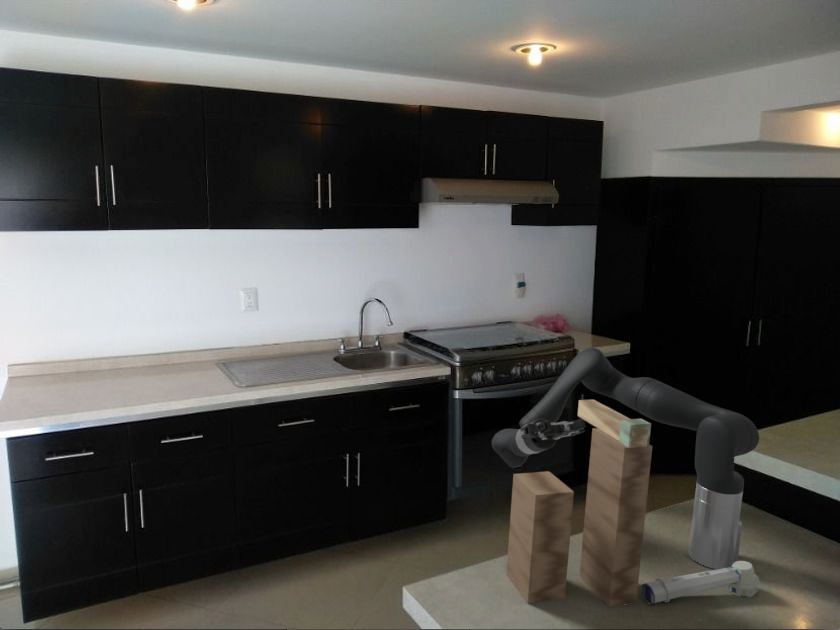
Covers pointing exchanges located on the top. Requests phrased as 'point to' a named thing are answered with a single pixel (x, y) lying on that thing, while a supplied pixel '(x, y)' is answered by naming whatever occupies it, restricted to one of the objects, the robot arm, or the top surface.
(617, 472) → the walnut post
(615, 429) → the oak rail
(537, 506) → the low walnut block
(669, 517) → the top surface
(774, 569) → the top surface
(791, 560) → the top surface
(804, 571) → the top surface
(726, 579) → the white tube with head
